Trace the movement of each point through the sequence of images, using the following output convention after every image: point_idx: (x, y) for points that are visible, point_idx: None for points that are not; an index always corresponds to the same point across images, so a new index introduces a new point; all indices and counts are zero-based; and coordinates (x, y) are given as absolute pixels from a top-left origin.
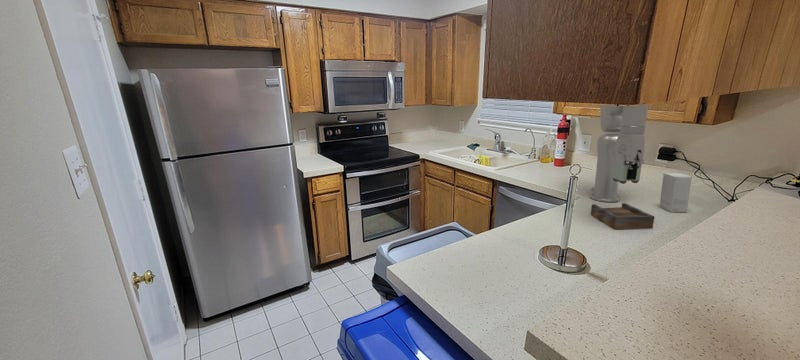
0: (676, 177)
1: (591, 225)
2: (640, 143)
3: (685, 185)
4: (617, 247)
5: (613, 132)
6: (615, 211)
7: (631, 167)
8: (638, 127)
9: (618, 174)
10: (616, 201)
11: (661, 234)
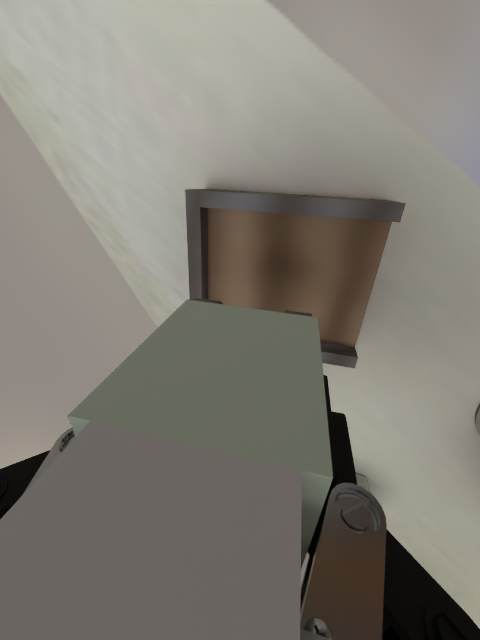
0: None
1: (264, 108)
2: None
3: (301, 572)
4: (54, 71)
5: None
6: (314, 284)
7: (54, 448)
8: None
9: (214, 332)
10: (476, 418)
11: (164, 306)
